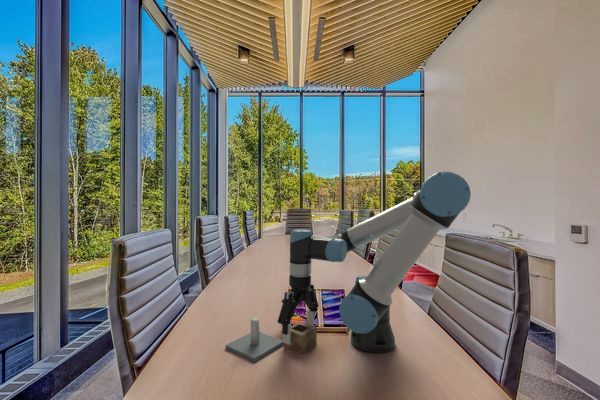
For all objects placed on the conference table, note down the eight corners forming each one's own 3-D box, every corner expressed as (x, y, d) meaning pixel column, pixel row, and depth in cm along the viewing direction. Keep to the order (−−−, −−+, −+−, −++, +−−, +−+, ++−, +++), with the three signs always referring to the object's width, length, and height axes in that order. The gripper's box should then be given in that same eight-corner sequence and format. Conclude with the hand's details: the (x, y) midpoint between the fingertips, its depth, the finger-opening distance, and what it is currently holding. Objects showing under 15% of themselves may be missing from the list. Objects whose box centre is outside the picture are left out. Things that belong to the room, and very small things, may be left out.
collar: (316, 344, 103) (316, 327, 103) (302, 353, 97) (302, 335, 97) (298, 337, 108) (298, 321, 108) (284, 346, 102) (284, 329, 102)
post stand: (283, 344, 103) (283, 318, 103) (254, 362, 92) (254, 332, 92) (255, 333, 111) (255, 309, 111) (225, 348, 100) (225, 321, 100)
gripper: (312, 266, 115) (311, 320, 115) (267, 280, 95) (266, 346, 95) (328, 269, 110) (327, 326, 110) (285, 284, 90) (284, 353, 90)
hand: (299, 335), depth 103 cm, fingers open, 13 cm apart
